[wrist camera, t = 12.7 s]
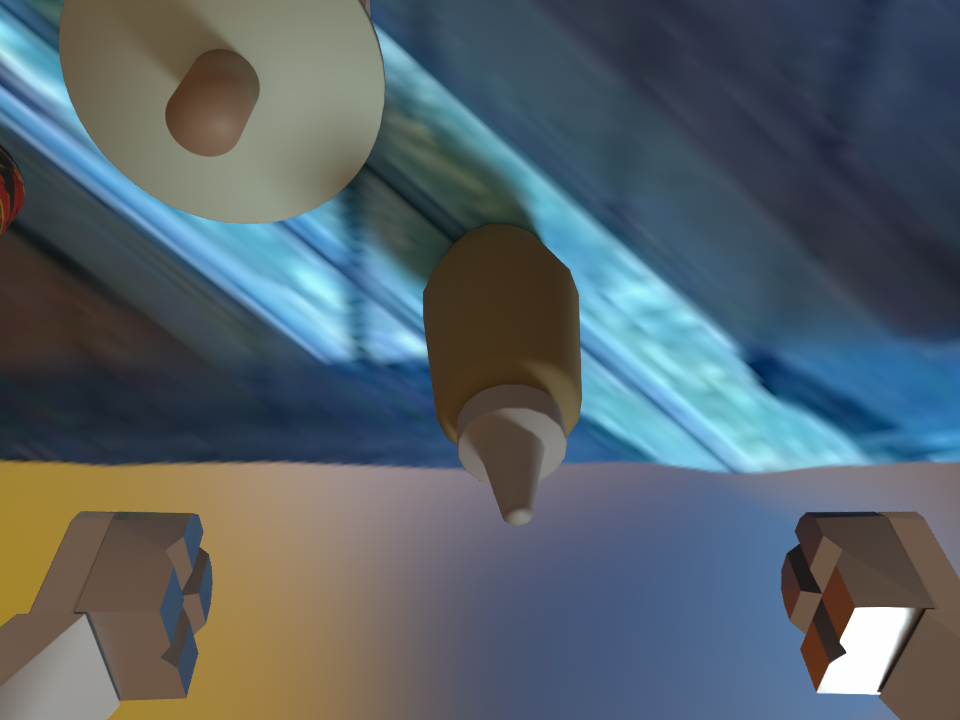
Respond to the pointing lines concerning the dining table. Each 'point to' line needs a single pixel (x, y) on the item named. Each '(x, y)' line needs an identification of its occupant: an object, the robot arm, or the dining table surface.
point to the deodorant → (9, 190)
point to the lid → (227, 98)
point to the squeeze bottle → (504, 359)
